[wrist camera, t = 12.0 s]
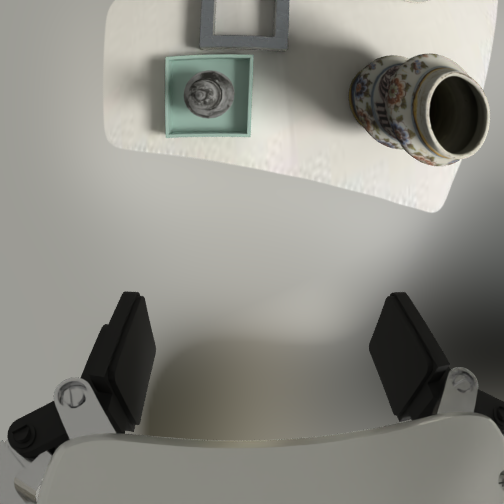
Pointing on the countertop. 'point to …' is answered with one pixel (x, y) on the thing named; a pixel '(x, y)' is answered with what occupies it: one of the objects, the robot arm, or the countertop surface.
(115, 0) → the countertop surface
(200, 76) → the salt shaker
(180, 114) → the tray
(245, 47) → the grey square frame
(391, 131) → the apothecary jar
